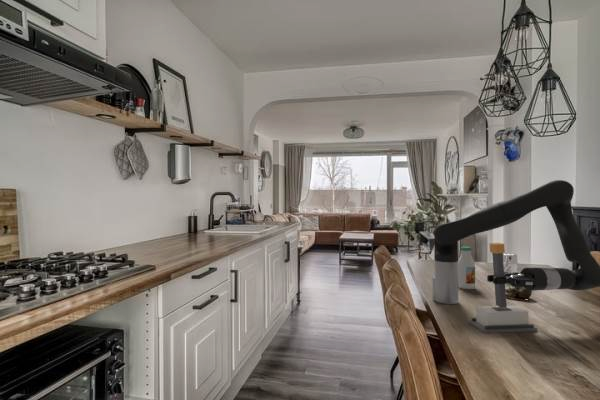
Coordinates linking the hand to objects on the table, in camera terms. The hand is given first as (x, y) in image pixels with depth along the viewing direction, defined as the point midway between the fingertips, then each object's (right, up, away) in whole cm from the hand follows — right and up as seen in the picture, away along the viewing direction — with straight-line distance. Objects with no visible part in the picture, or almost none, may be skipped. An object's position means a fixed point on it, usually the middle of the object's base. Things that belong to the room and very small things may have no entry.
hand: (491, 279), depth 115 cm
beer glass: (+44, -17, +61) cm, 77 cm away
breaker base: (+4, -16, 0) cm, 16 cm away
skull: (+32, -17, +36) cm, 50 cm away
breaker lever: (+4, -10, 0) cm, 11 cm away
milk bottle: (+18, -17, +53) cm, 58 cm away
